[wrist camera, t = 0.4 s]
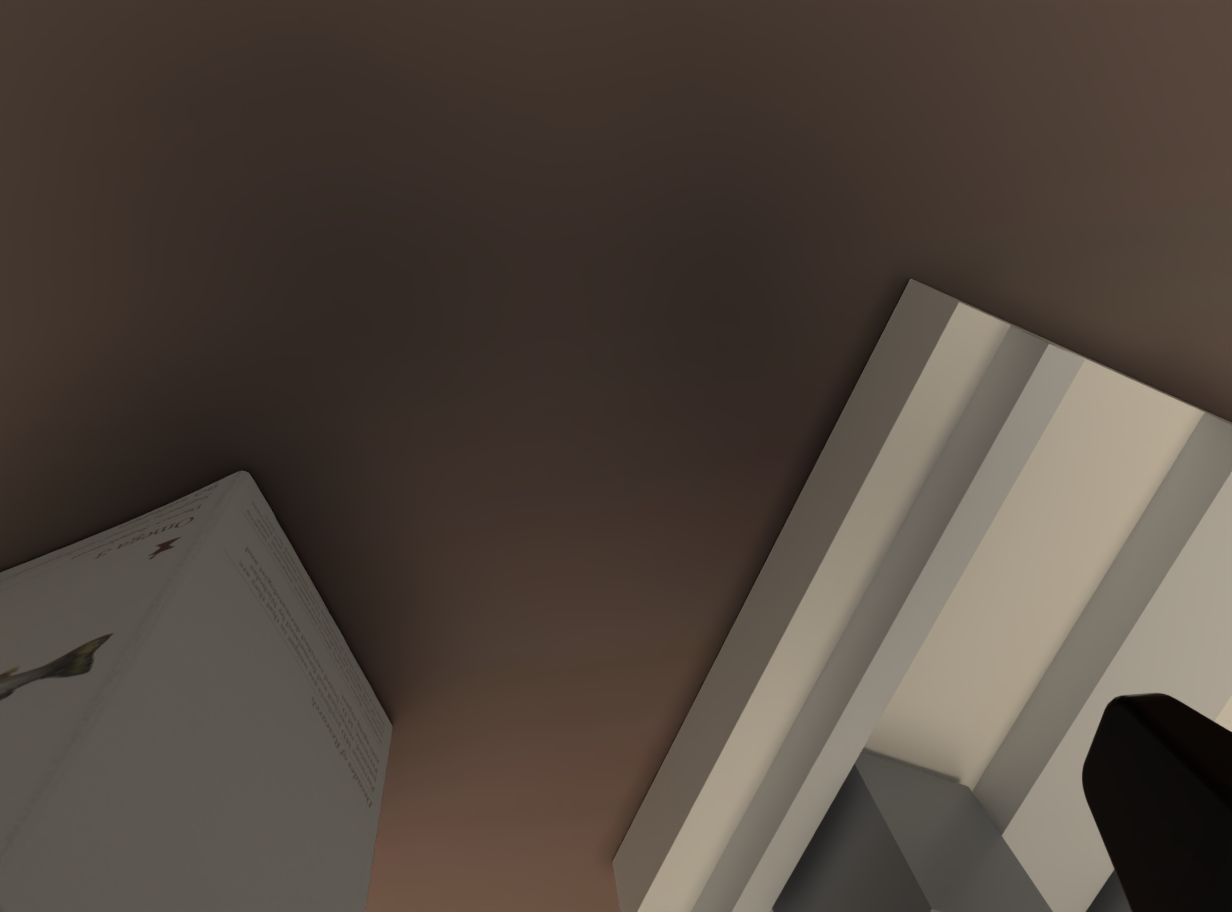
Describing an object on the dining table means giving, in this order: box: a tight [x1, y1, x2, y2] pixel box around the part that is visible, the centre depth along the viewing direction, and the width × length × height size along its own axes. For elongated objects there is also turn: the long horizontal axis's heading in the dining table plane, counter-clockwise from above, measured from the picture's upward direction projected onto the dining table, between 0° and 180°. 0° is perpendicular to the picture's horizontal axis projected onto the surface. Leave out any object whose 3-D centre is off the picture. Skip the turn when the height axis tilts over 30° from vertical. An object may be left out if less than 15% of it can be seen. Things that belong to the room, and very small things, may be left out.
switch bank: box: [612, 278, 1232, 912], centre depth 25 cm, size 16×15×4 cm
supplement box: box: [0, 471, 393, 912], centre depth 18 cm, size 7×7×13 cm
